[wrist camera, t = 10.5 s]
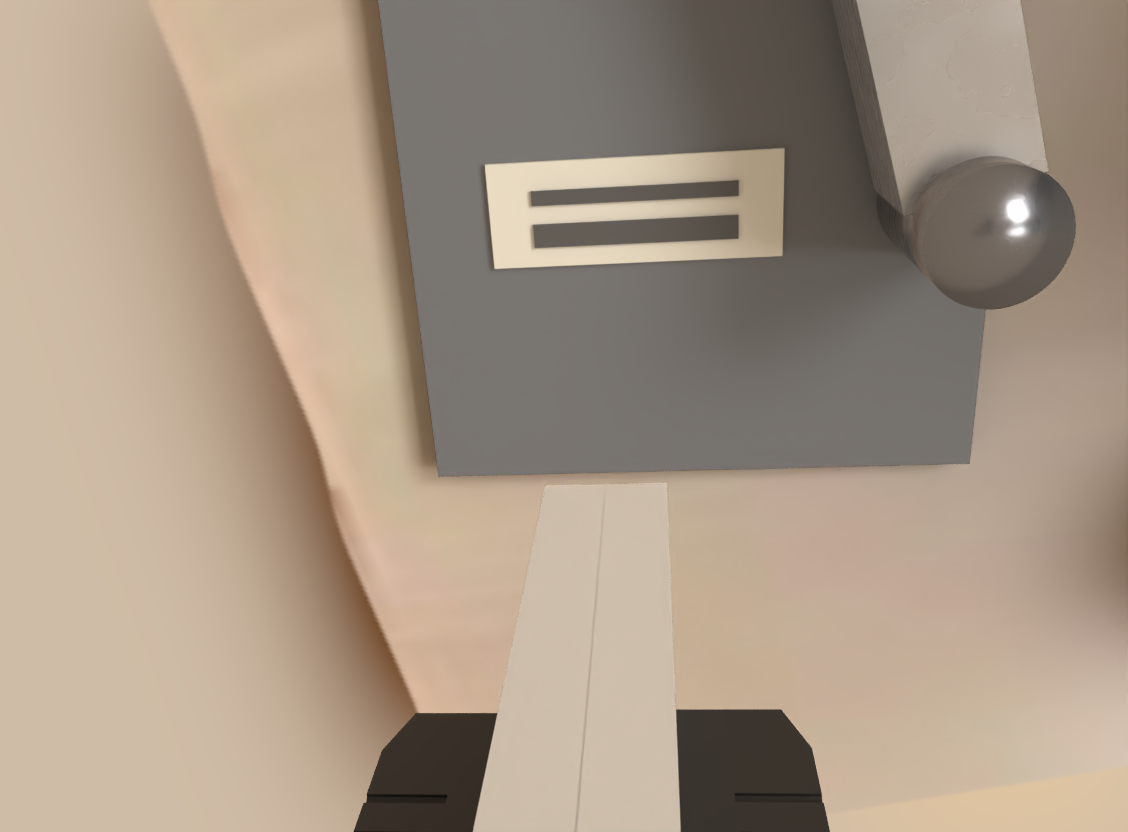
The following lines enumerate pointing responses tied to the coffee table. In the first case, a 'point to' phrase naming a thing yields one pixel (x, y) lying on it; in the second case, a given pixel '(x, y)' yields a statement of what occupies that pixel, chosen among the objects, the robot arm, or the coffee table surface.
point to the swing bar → (957, 144)
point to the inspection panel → (660, 244)
